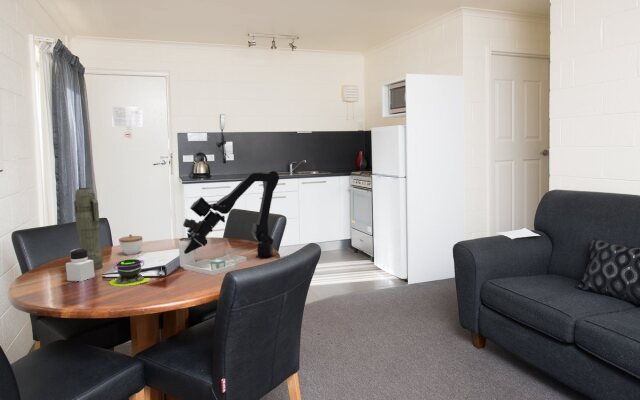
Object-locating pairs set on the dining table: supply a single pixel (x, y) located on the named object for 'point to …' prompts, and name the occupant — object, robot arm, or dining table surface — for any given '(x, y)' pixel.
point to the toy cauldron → (129, 273)
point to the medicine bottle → (79, 266)
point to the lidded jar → (131, 244)
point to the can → (184, 257)
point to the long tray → (208, 267)
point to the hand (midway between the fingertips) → (183, 251)
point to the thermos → (88, 224)
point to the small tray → (232, 259)
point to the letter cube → (217, 264)
